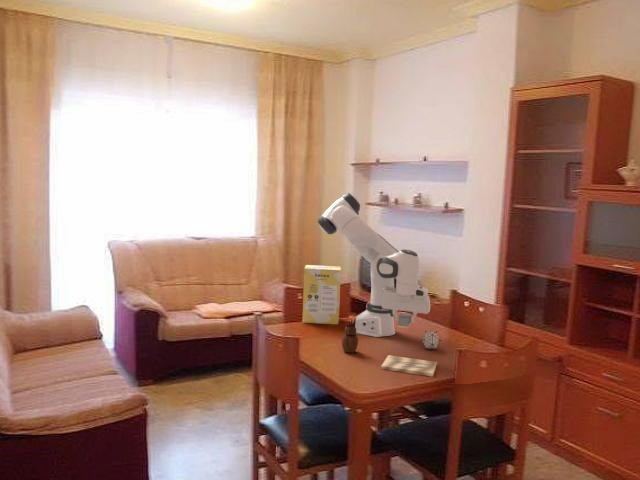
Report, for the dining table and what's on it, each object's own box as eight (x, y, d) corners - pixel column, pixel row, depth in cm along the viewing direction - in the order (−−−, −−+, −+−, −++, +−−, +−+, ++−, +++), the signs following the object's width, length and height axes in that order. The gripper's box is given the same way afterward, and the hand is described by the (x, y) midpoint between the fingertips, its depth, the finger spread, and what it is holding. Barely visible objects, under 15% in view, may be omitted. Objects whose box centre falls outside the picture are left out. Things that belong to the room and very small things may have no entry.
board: (381, 368, 210) (381, 365, 209) (388, 357, 223) (388, 355, 223) (432, 376, 203) (433, 373, 203) (436, 364, 217) (437, 362, 216)
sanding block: (397, 326, 222) (397, 317, 222) (400, 322, 230) (401, 313, 229) (408, 328, 221) (408, 318, 220) (411, 323, 228) (411, 314, 228)
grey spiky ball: (432, 358, 236) (436, 345, 229) (415, 348, 239) (419, 335, 232) (442, 345, 241) (446, 332, 234) (426, 335, 244) (429, 322, 237)
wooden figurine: (358, 350, 231) (360, 316, 229) (355, 354, 225) (357, 320, 223) (343, 348, 233) (345, 315, 231) (340, 352, 227) (341, 318, 226)
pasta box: (338, 319, 282) (340, 266, 278) (338, 324, 271) (340, 270, 268) (304, 317, 283) (306, 264, 280) (302, 322, 272) (304, 268, 269)
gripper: (380, 287, 223) (378, 319, 225) (430, 293, 217) (427, 326, 219) (383, 285, 229) (381, 316, 231) (431, 290, 223) (429, 322, 225)
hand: (404, 321), depth 225 cm, fingers closed on sanding block, 4 cm apart
